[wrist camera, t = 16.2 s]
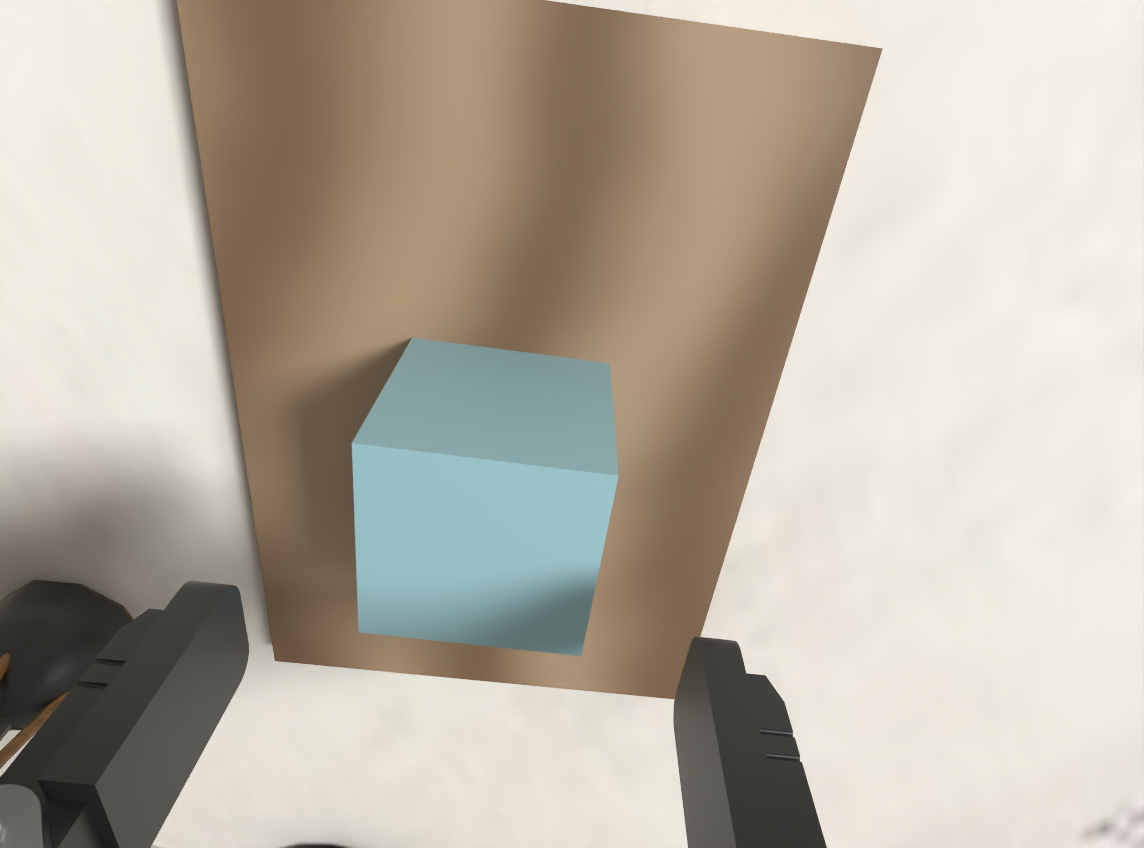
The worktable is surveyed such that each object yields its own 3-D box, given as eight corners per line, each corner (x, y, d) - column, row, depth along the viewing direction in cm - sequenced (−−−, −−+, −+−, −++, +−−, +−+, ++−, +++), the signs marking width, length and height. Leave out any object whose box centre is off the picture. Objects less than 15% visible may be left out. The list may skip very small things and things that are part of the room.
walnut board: (864, 47, 14) (882, 48, 13) (677, 676, 24) (680, 699, 23) (194, -48, 14) (168, -54, 13) (286, 637, 24) (274, 660, 23)
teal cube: (609, 363, 17) (618, 475, 13) (582, 518, 19) (581, 656, 15) (412, 337, 17) (351, 443, 12) (409, 497, 19) (358, 632, 15)
